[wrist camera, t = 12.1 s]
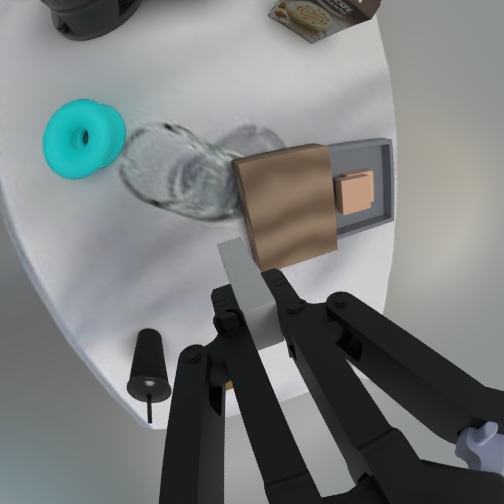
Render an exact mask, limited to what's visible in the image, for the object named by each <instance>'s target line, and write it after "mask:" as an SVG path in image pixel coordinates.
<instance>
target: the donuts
mask: <svg viewBox="0 0 504 504" xmlns="http://www.w3.org/2000/svg"><path fill="white" fill-rule="evenodd" d="M86 130H87V132H88V135H89V140H88V143H87V145H85V143H84V140H83V137H84V133H85V132H86ZM124 141H125V125H124V122H123V119H122V117H121V116H120V114H119V113H118V112H117V111H116V110H115V109H114V108H112V107H110V106H108V105H105V104H99V103H98V102H95V101H93V100H88V99H79V100H74V101H71V102H69V103H67V104H65V105H64V106H62V107H61V108H60V109H58V110H57V111H56V112H55V113H54V115H53V116H52V117H51V119H50V120H49V122H48V124H47V126H46V129H45V132H44V137H43V152H44V156H45V159H46V161H47V163H48V165H49V167H50V168H51V169H52V170H53V171H54V172H55V173H56V174H58V175H59V176H61V177H64V178H67V179H81V178H84V177H87V176H89V175H91V174H93V173H94V172H96V171H97V170H98V169H101V168H104V167H106V166H107V165H109V164H110V163H111V162H113V161H114V160H115V159H116V157H117V156H118V155H119V153H120V152H121V150H122V147H123V145H124Z"/></svg>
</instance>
